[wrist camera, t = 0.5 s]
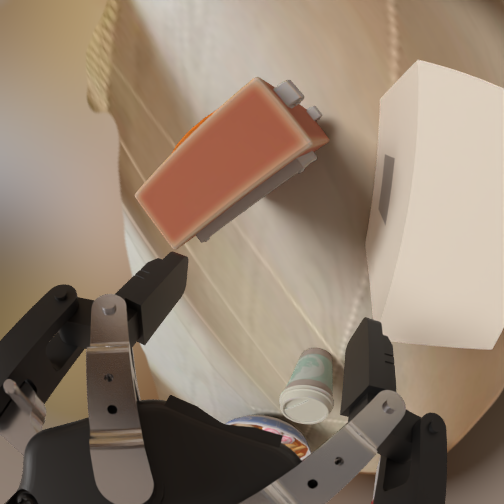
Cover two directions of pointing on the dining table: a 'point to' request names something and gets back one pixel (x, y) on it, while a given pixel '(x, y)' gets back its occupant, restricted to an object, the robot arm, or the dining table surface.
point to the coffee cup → (309, 389)
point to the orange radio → (232, 161)
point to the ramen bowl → (277, 431)
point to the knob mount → (439, 210)
